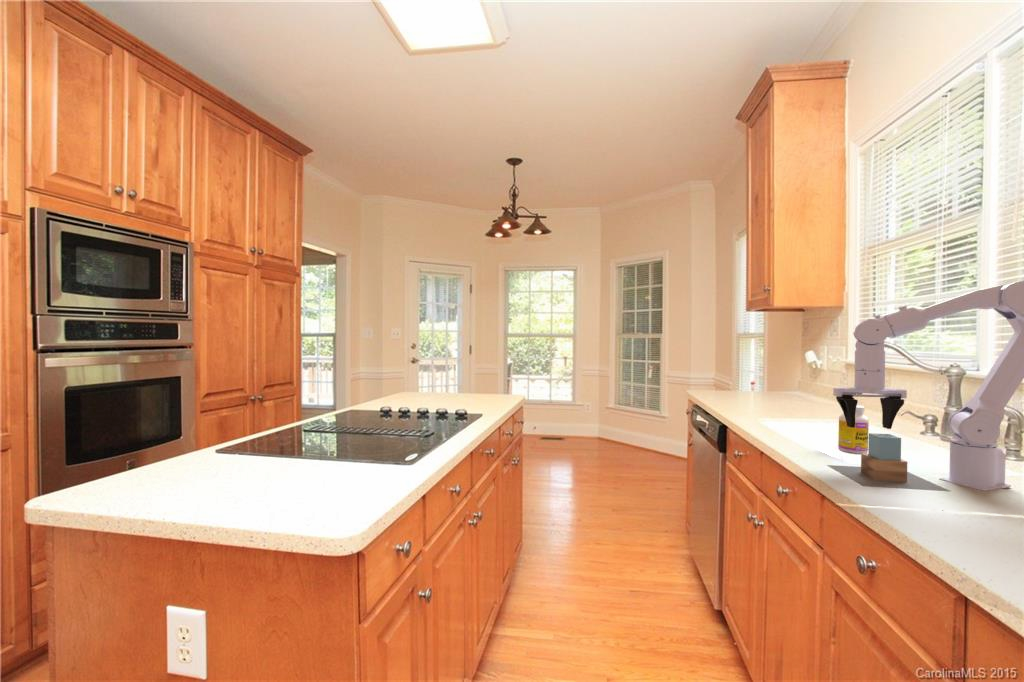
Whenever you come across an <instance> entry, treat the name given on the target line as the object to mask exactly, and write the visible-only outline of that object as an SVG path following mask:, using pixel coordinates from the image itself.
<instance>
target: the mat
mask: <svg viewBox="0 0 1024 682" xmlns="http://www.w3.org/2000/svg"><path fill="white" fill-rule="evenodd" d="M826 466H828V467H829V468H831V469H833V470H834V471H836V472H838V473H840V474H842V475H843V476H845V477H847V478H848V479H850V480H852V481H853V482H855V483H857V484H859V485H860V486H862V487H871V488H872V487H873V488H888V489H891V488H892V489H906V490H923V491H939V492H940V491H943V492H951V490H949V489H947V488H945V487H942V486H940V485H939V484H936V483H934V482H931V481H929V480H927V479H925V478H922V477H921V476H918V475H915V474H914V473H911V472H909V471H907V482H900V481H882V480H875V479H873V478H871V477H869V476H867V475H865V474H863V473H861V466H855V465H854V466H851V465H830V464H827V465H826Z"/></svg>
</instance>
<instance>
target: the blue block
mask: <svg viewBox="0 0 1024 682" xmlns="http://www.w3.org/2000/svg"><path fill="white" fill-rule="evenodd" d="M867 454H868V455H870V456H872V457H874V458H876V459H879V460H895V461H901V459H902V438H901V437H899V436H896V435H893V434H890V433H875V432H873V433H870V432H868V453H867Z"/></svg>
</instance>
